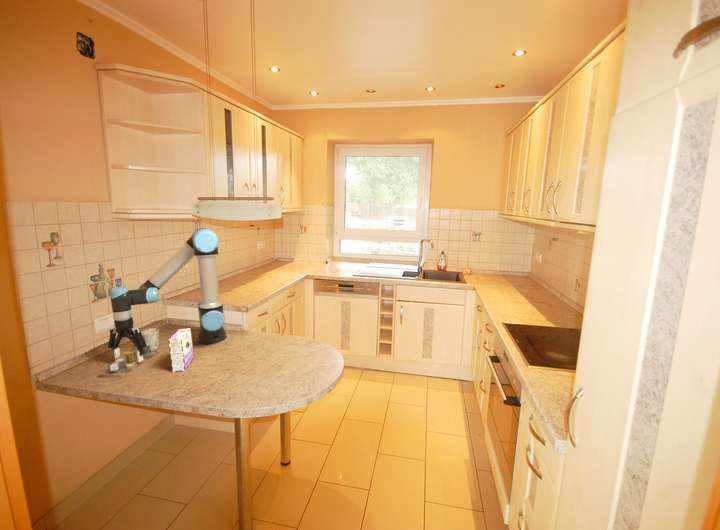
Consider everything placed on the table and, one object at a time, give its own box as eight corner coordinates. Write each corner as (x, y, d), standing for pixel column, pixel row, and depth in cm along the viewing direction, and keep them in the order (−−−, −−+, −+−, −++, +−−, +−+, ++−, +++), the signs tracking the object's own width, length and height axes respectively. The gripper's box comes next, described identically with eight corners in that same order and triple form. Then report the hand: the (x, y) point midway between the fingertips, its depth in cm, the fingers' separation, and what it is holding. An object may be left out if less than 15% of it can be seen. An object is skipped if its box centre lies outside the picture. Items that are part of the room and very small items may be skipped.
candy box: (182, 359, 171) (178, 328, 168) (194, 358, 172) (190, 327, 169) (171, 372, 157) (167, 339, 154) (185, 371, 158) (181, 337, 155)
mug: (155, 351, 182) (152, 333, 180) (132, 351, 182) (129, 334, 180) (164, 345, 190) (161, 328, 188) (142, 345, 190) (139, 328, 189)
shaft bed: (138, 353, 180) (136, 342, 179) (158, 353, 180) (156, 342, 179) (98, 377, 155) (96, 364, 154) (121, 377, 154) (119, 364, 153)
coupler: (130, 364, 164) (128, 354, 163) (120, 364, 164) (118, 354, 163) (139, 359, 170) (137, 349, 169) (129, 359, 170) (128, 349, 169)
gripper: (151, 316, 166) (157, 357, 170) (106, 316, 168) (113, 357, 171) (140, 321, 159) (147, 364, 162) (94, 321, 160) (101, 364, 164)
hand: (129, 361), depth 167 cm, fingers open, 11 cm apart
